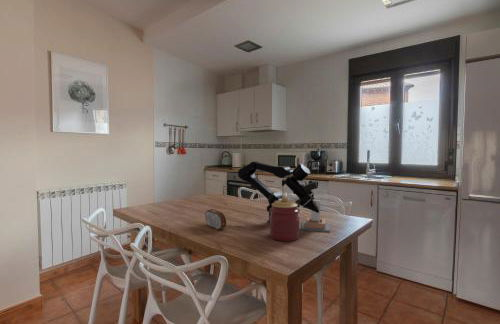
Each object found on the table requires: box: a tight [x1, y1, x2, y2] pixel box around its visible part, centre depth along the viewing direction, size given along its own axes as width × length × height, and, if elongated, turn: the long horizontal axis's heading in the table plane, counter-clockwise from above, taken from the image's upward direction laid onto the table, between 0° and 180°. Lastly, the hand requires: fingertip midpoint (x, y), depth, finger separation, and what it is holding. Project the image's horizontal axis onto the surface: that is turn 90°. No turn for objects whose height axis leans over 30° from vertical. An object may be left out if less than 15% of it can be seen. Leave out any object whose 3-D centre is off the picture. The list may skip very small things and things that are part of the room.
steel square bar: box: [310, 198, 321, 222], centre depth 128 cm, size 4×4×12 cm
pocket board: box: [300, 217, 331, 233], centre depth 129 cm, size 13×13×3 cm
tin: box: [204, 208, 227, 231], centre depth 128 cm, size 15×3×8 cm, turn 41°
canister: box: [269, 195, 301, 242], centre depth 114 cm, size 13×13×18 cm
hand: (318, 210), depth 128 cm, fingers open, 9 cm apart
